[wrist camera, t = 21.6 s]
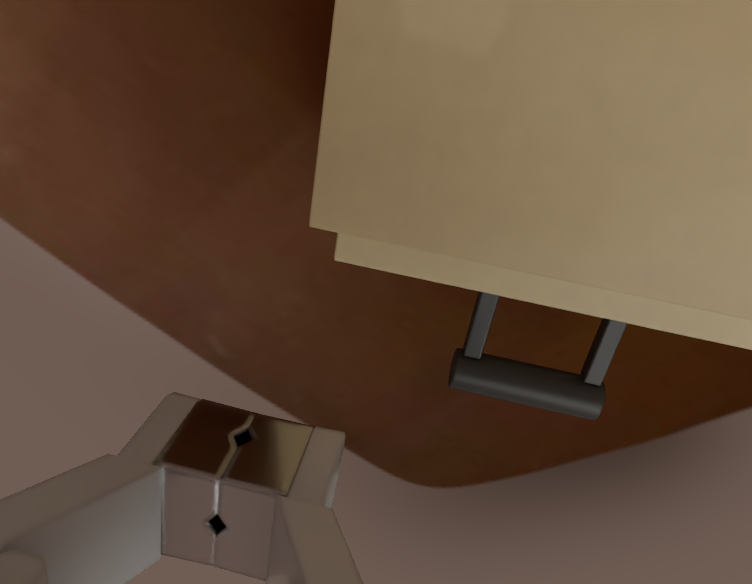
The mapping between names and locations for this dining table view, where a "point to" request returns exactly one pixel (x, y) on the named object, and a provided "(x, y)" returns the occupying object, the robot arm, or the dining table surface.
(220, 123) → the dining table surface
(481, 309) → the drawer
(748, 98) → the cabinet
